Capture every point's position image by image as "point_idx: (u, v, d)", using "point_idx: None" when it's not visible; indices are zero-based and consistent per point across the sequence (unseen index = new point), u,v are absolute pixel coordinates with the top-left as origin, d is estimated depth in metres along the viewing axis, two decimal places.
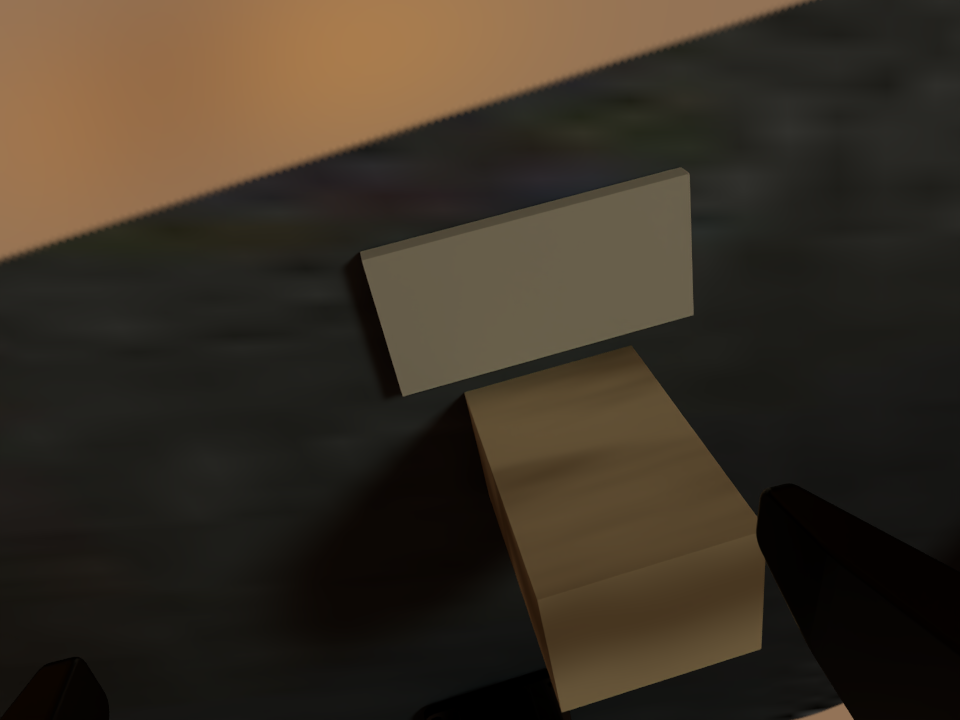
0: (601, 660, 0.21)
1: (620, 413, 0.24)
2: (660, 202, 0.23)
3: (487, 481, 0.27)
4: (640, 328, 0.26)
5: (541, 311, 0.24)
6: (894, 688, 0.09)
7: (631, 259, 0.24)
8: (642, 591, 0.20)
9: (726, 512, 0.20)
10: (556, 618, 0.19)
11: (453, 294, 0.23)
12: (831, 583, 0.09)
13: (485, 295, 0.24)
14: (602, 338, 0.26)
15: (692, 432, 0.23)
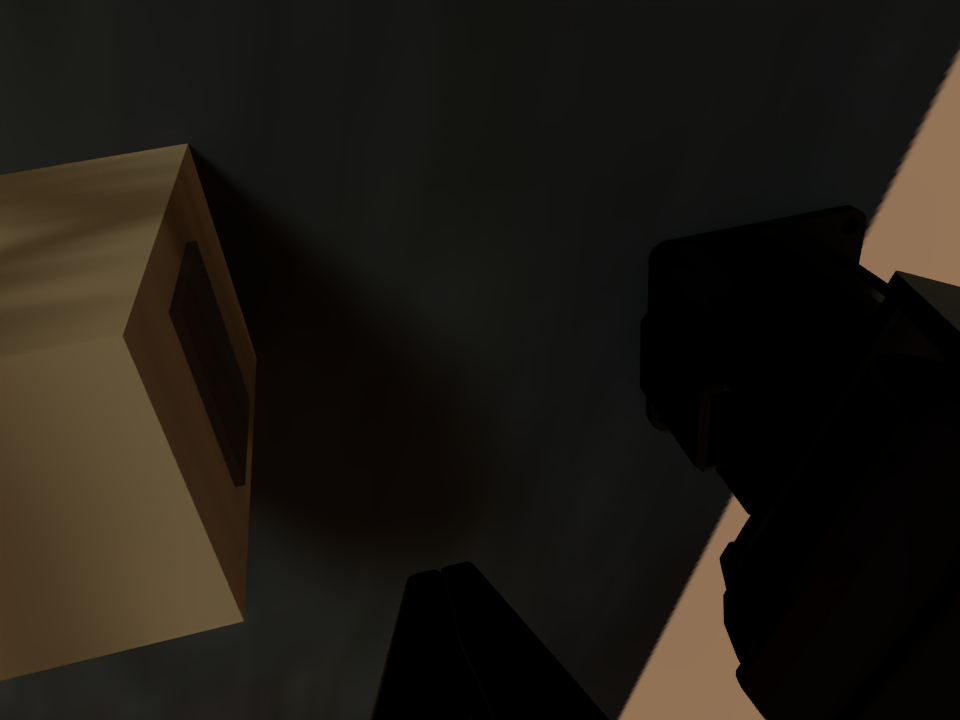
0: (111, 595, 0.13)
1: None
2: None
3: None
4: None
5: None
6: None
7: None
8: None
9: None
10: None
11: None
12: (467, 679, 0.09)
13: None
14: None
15: None
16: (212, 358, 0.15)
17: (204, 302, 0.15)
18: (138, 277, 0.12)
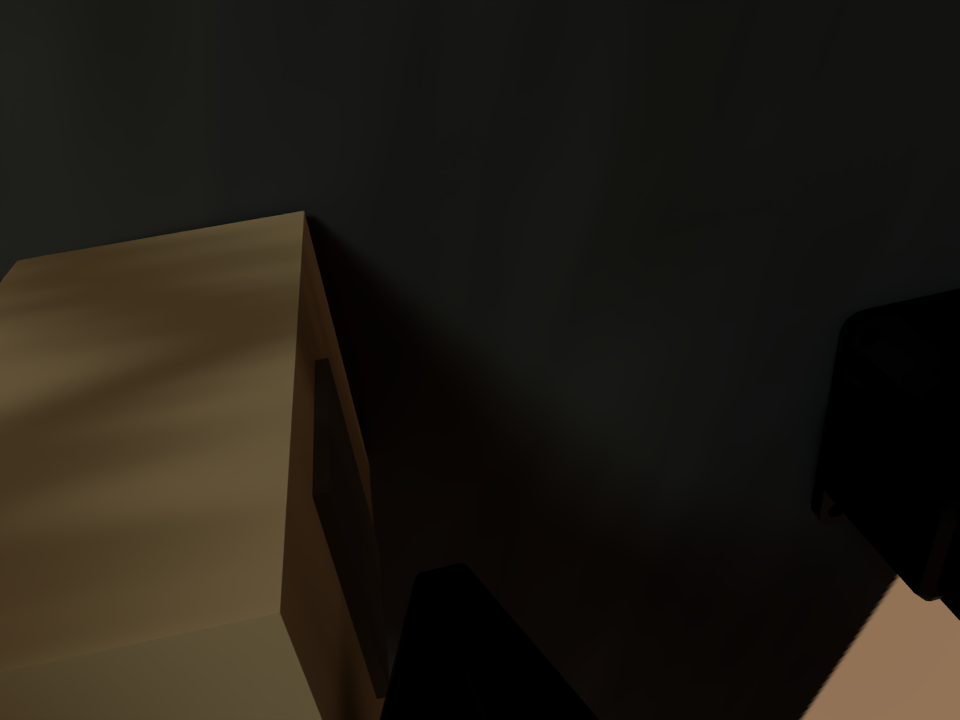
0: None
1: None
2: None
3: None
4: None
5: None
6: None
7: None
8: None
9: None
10: None
11: None
12: None
13: None
14: None
15: None
16: (354, 530, 0.11)
17: (341, 448, 0.11)
18: (282, 468, 0.08)
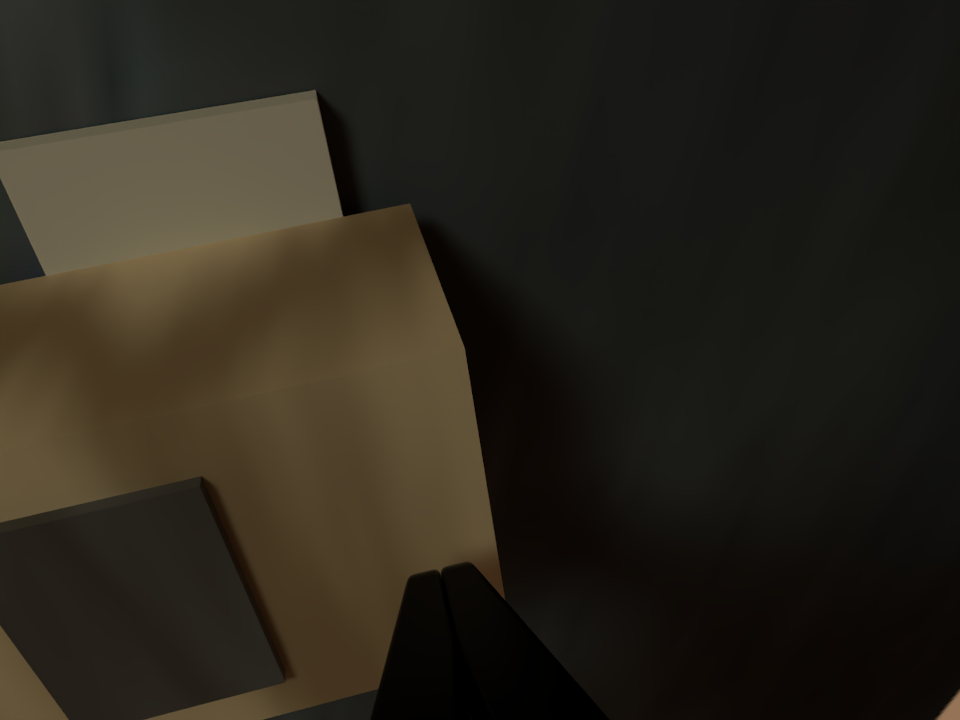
0: None
1: None
2: (59, 203, 0.12)
3: None
4: (337, 209, 0.13)
5: None
6: None
7: (184, 243, 0.13)
8: None
9: None
10: None
11: None
12: (466, 679, 0.09)
13: None
14: None
15: None
16: (82, 612, 0.10)
17: (128, 556, 0.10)
18: None
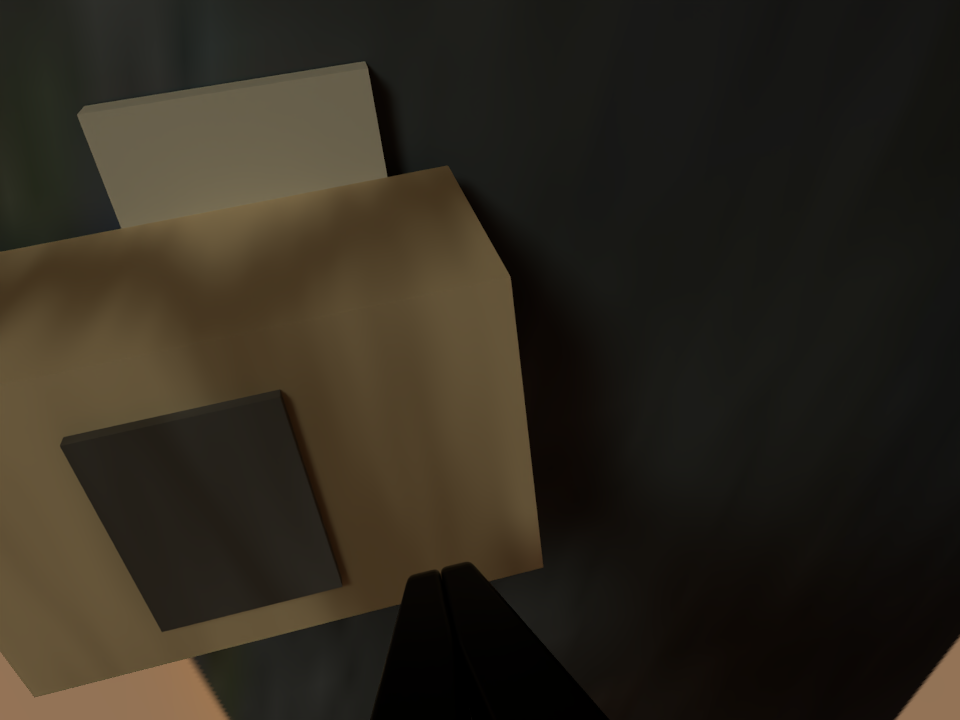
0: None
1: None
2: (136, 161, 0.14)
3: None
4: (383, 170, 0.15)
5: None
6: None
7: (245, 200, 0.15)
8: None
9: None
10: None
11: None
12: (467, 678, 0.09)
13: None
14: None
15: None
16: (172, 512, 0.12)
17: (215, 460, 0.11)
18: None
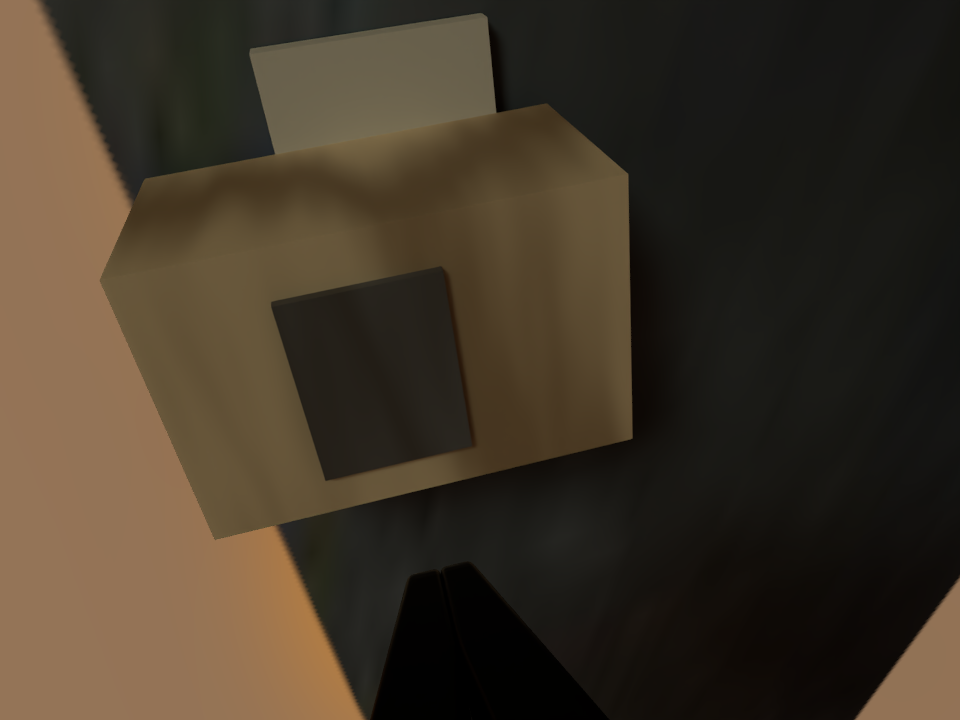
0: None
1: None
2: (293, 95, 0.16)
3: None
4: (493, 106, 0.17)
5: None
6: None
7: (378, 131, 0.17)
8: None
9: None
10: None
11: None
12: (466, 679, 0.09)
13: None
14: None
15: None
16: (347, 370, 0.14)
17: (387, 325, 0.14)
18: (215, 255, 0.13)
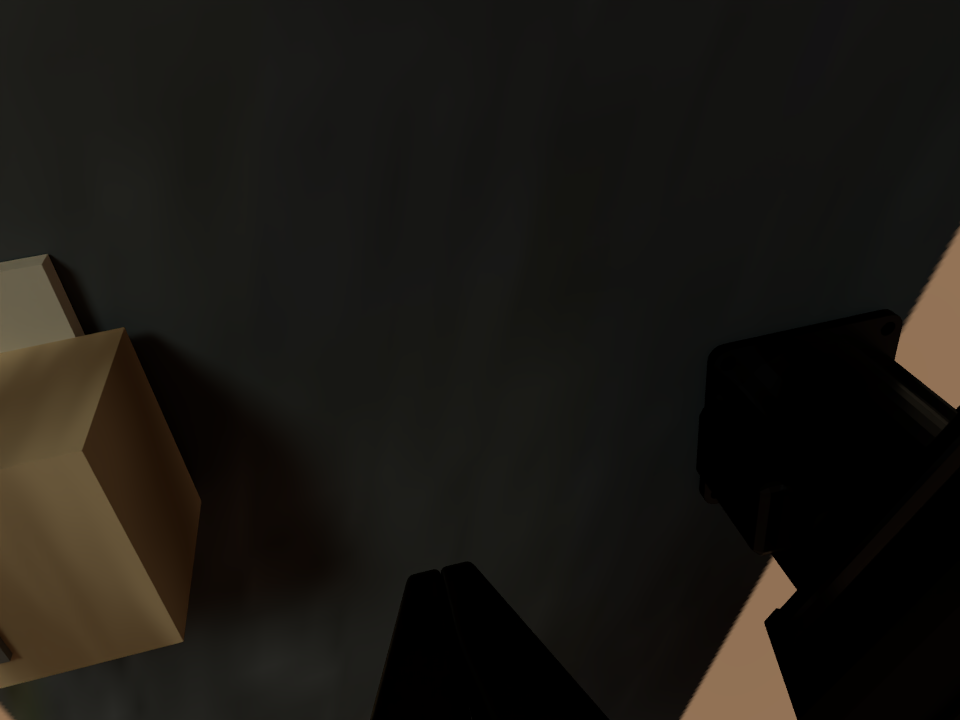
0: None
1: None
2: None
3: None
4: (70, 332, 0.19)
5: None
6: None
7: None
8: None
9: None
10: None
11: None
12: (467, 679, 0.09)
13: None
14: None
15: None
16: None
17: None
18: None
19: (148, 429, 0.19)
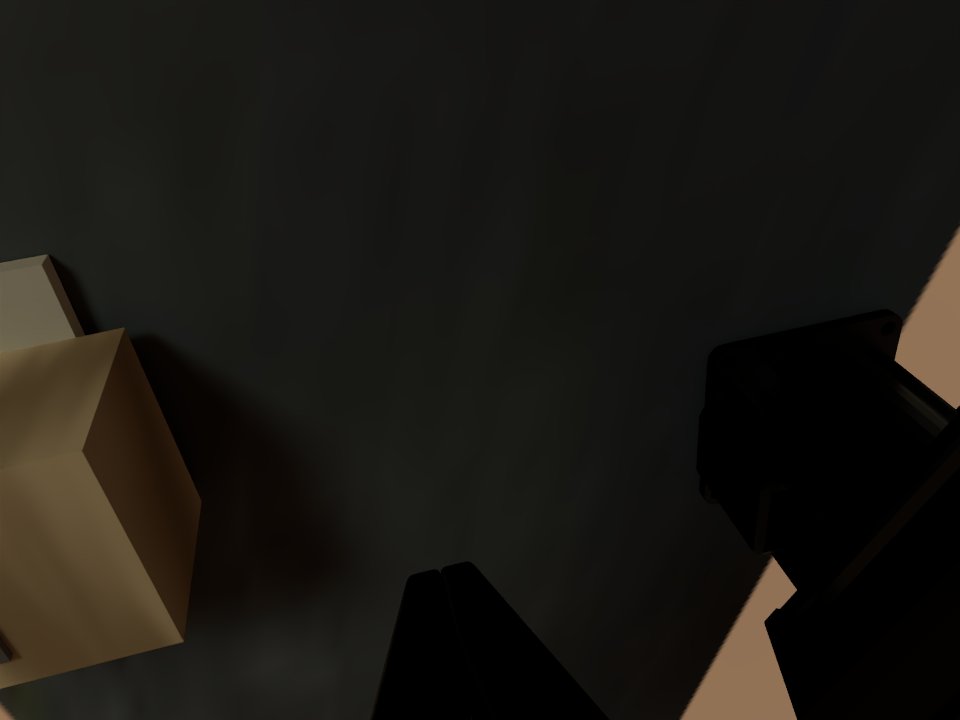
0: None
1: None
2: None
3: None
4: (70, 333, 0.19)
5: None
6: None
7: None
8: None
9: None
10: None
11: None
12: (467, 679, 0.09)
13: None
14: None
15: None
16: None
17: None
18: None
19: (148, 429, 0.19)
